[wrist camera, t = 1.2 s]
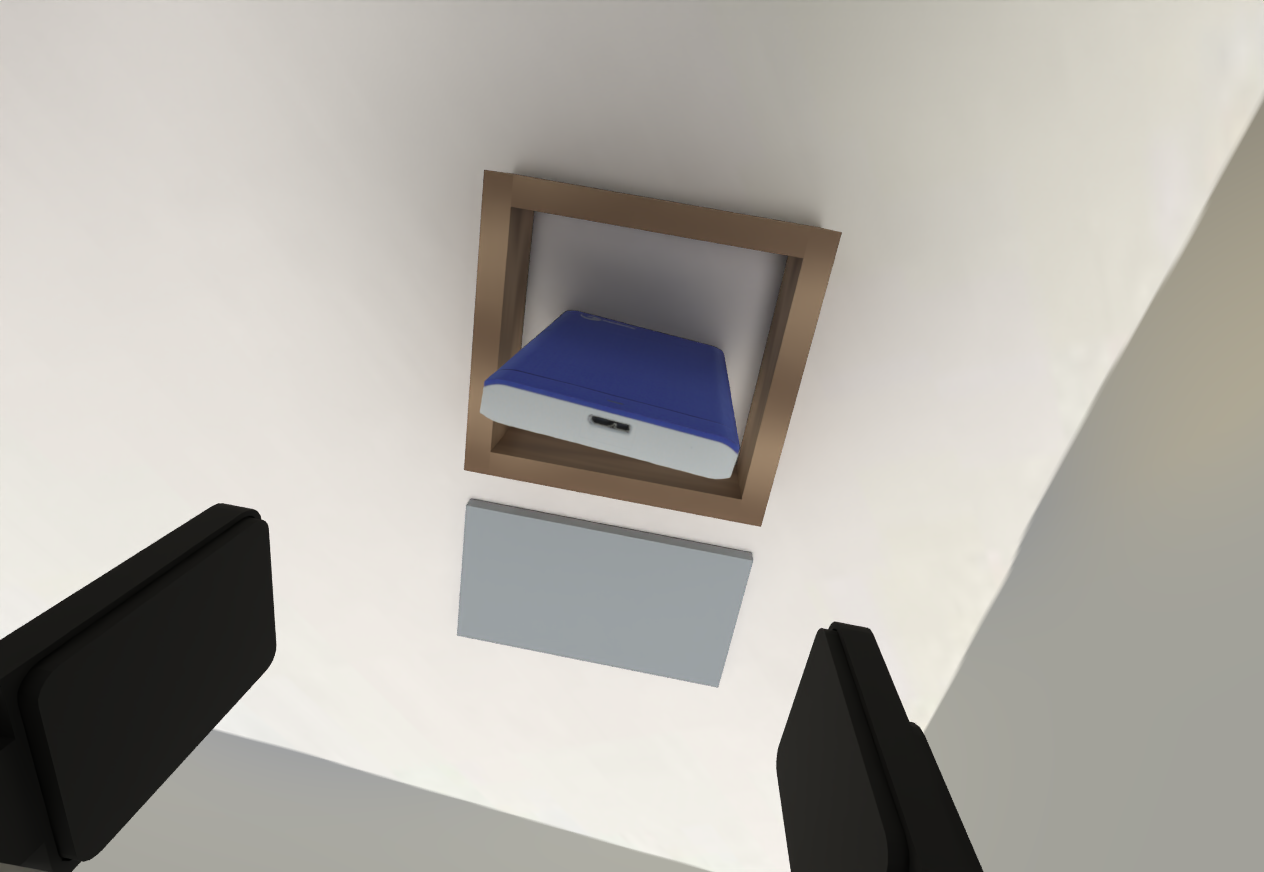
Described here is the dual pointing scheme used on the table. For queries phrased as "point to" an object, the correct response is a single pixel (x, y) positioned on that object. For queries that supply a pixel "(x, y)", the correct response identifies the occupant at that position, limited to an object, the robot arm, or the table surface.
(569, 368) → the hard drive
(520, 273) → the wooden square frame
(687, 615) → the mat
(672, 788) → the table surface
